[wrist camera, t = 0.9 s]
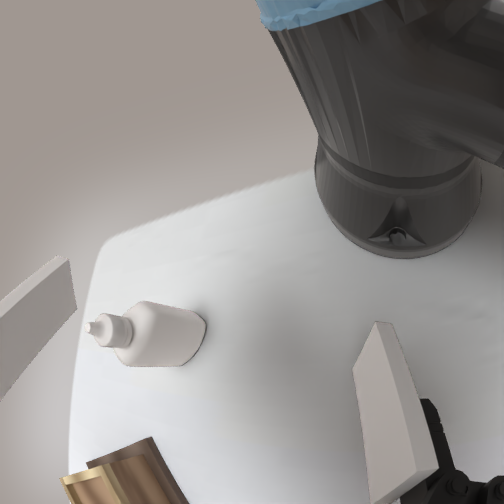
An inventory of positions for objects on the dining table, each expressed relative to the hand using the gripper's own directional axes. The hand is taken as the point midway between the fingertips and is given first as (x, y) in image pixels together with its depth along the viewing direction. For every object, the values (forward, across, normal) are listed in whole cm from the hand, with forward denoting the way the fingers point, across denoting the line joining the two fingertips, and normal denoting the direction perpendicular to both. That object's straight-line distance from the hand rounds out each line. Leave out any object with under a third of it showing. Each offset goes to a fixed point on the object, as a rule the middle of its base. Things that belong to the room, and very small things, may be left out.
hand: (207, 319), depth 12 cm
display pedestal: (0, -6, -31) cm, 32 cm away
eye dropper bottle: (+12, -4, -13) cm, 18 cm away
